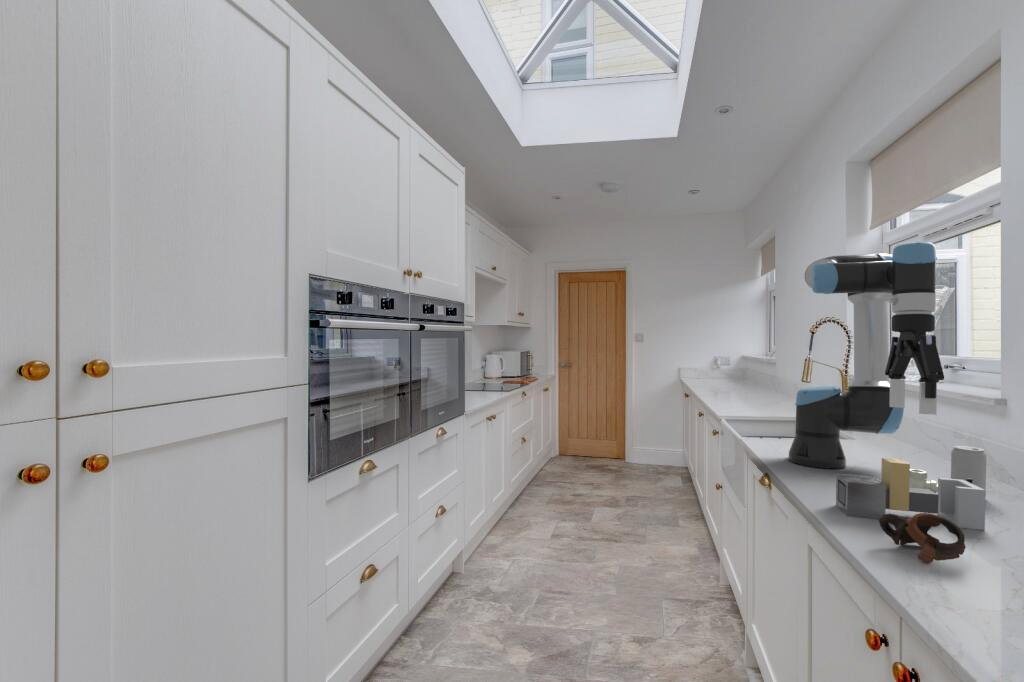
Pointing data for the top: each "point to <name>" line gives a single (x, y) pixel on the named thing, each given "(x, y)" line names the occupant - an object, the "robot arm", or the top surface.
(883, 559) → the top surface
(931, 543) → the rusty metal ring bracket
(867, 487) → the gray block
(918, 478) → the valve
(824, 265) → the robot arm
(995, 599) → the top surface
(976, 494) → the socket
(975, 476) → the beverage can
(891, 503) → the two-tone stepped block
